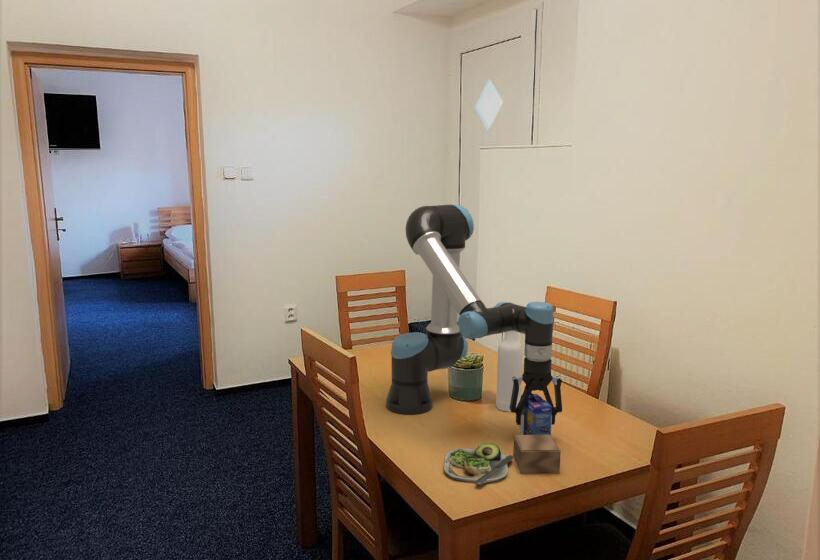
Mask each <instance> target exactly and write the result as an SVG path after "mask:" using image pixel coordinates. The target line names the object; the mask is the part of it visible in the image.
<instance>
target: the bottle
mask: <svg viewBox="0 0 820 560" xmlns="http://www.w3.org/2000/svg"><path fill="white" fill-rule="evenodd" d="M517 333H518V332H516V331H508V332H504V338H503V339H502V340H501V341H500V342H499V345H498V347H497V368H496V369H497V370H496V371H497V372H496V374H497V375H496V376H497V377H496V397H495V398H496V399H495V403H496V404H495V406H496V408H497V409H498V410H500V411H502V412H508V413H512V412H511V410H510V402H511V396H512V390H513V380H512V378H513V377H516V378H517V377H522V375H523V373H522V372H523V352H524V350H523V346H522V344H521V341H519V340H518V338H517ZM521 395H522V384H521V385H519V392H518V398H517V404H516V408H517V405H518V403H519V401H520V398H521Z"/></svg>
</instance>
